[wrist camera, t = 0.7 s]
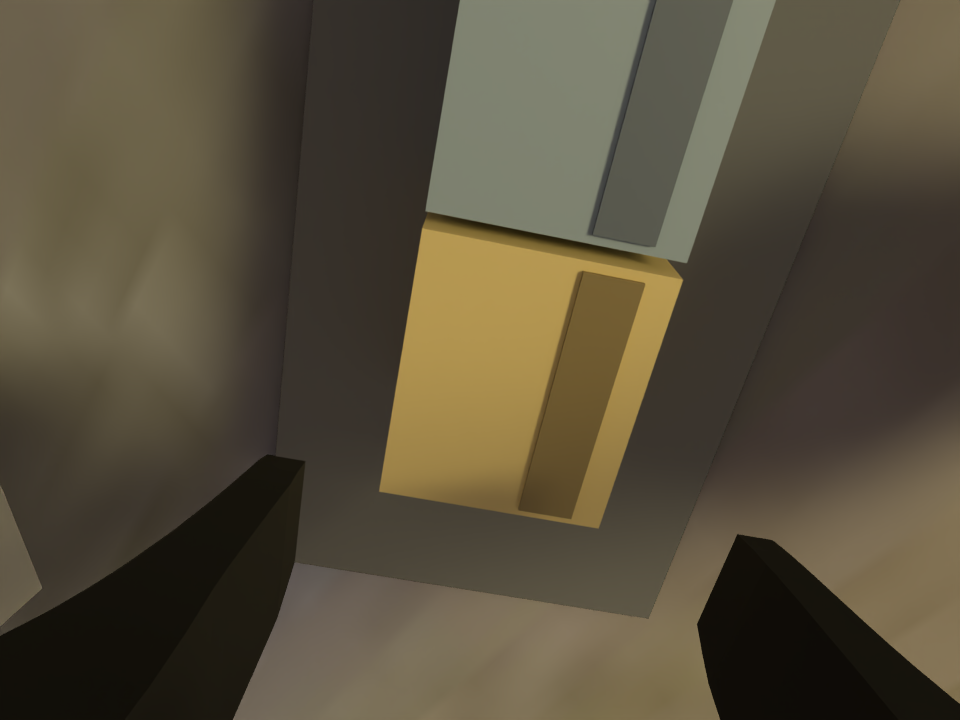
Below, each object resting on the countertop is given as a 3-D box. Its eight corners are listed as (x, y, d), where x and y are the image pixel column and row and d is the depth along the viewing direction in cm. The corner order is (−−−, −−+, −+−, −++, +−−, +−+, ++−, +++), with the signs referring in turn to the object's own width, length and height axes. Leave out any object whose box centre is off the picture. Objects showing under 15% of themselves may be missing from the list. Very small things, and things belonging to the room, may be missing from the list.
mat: (1054, -405, 13) (1070, -417, 13) (646, 609, 24) (648, 618, 23) (368, -599, 12) (365, -619, 12) (270, 549, 23) (267, 558, 22)
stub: (633, 217, 17) (684, 281, 13) (573, 417, 20) (599, 531, 15) (439, 178, 17) (421, 229, 13) (404, 387, 20) (378, 494, 15)
